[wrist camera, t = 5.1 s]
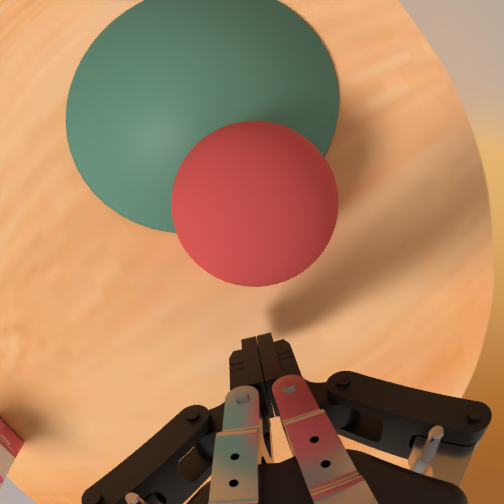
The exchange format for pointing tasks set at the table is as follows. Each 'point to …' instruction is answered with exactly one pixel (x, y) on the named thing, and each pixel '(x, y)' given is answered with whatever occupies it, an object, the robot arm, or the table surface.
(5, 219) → the table surface
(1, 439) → the ink cartridge box
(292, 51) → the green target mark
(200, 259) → the ball
